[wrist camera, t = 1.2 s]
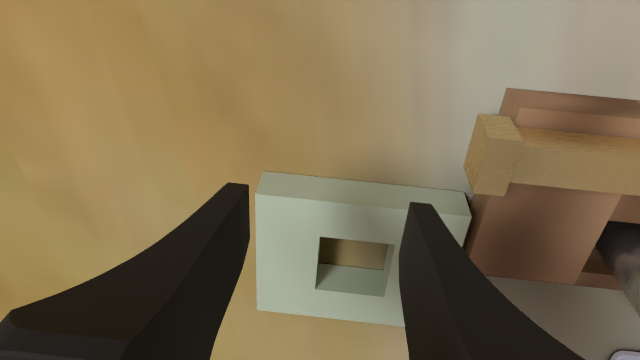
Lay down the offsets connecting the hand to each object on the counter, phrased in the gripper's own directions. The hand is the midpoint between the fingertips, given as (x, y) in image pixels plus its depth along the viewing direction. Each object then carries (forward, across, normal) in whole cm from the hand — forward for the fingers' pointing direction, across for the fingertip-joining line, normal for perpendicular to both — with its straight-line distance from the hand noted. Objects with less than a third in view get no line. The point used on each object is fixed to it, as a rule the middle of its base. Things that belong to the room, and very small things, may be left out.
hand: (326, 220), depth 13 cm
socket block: (+8, -12, +3) cm, 15 cm away
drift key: (+6, -9, 0) cm, 11 cm away
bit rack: (+8, -2, +8) cm, 12 cm away
